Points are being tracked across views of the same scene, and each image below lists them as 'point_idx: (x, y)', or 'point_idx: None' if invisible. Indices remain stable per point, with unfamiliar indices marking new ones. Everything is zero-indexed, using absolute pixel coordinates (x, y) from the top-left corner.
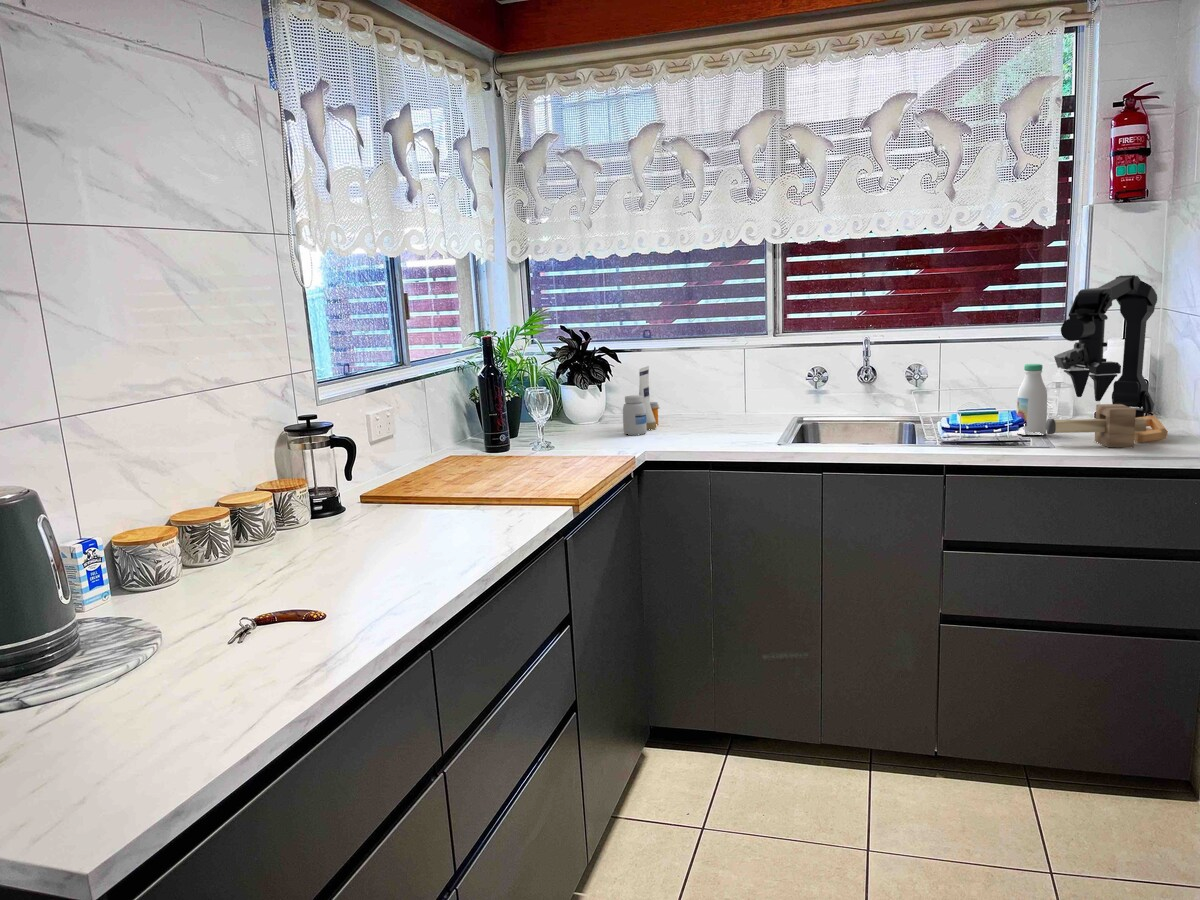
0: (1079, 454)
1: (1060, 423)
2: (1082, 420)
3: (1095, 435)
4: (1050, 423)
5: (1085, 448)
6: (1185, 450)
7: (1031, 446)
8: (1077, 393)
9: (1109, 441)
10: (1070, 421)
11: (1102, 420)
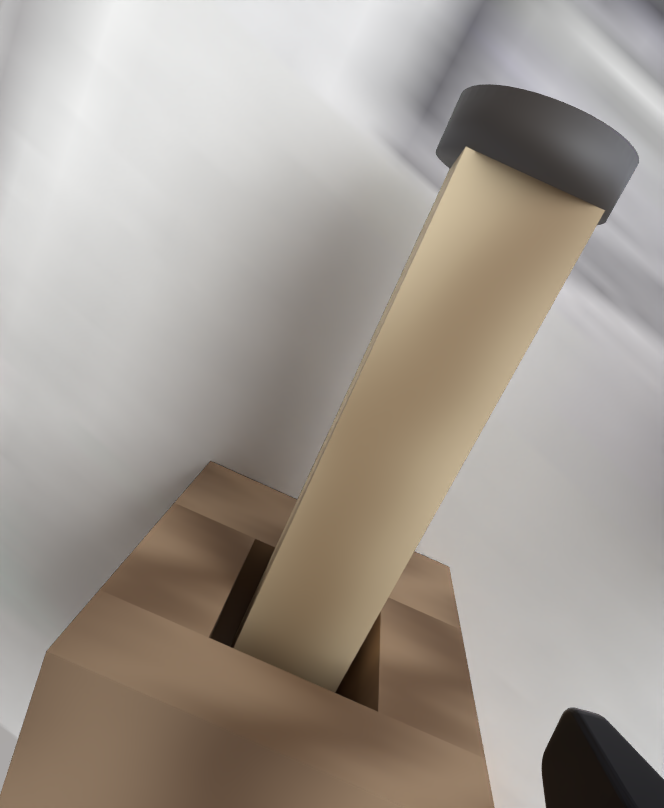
0: (77, 116)
1: (433, 213)
2: (369, 469)
3: (442, 589)
4: (485, 86)
5: (263, 331)
6: (9, 710)
7: (542, 5)
8: (597, 768)
9: (191, 483)
10: (385, 321)
11: (271, 607)
